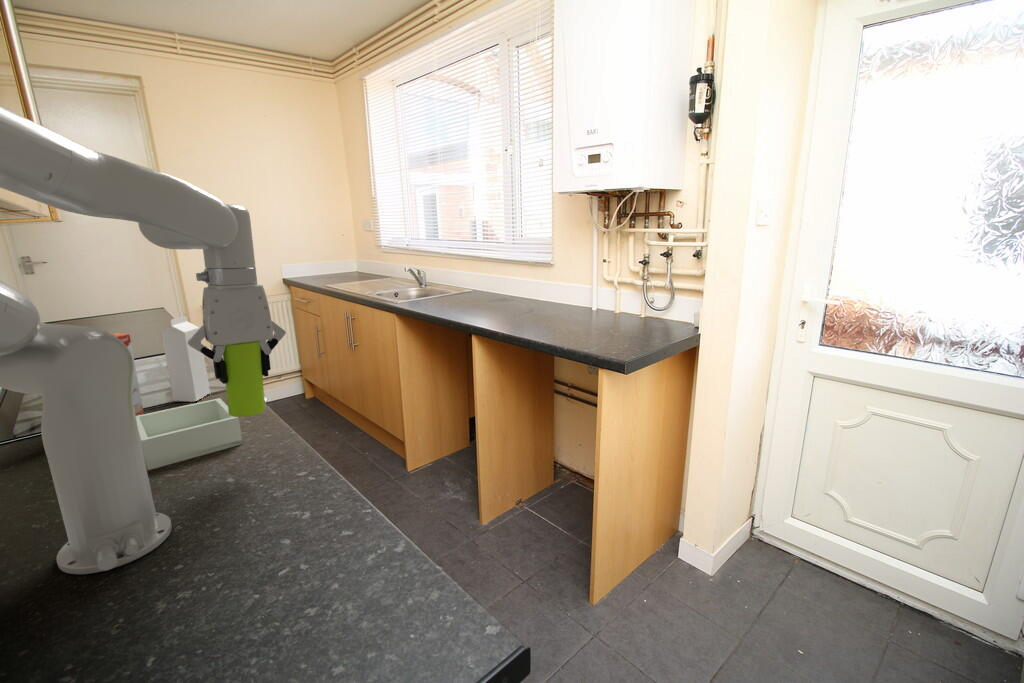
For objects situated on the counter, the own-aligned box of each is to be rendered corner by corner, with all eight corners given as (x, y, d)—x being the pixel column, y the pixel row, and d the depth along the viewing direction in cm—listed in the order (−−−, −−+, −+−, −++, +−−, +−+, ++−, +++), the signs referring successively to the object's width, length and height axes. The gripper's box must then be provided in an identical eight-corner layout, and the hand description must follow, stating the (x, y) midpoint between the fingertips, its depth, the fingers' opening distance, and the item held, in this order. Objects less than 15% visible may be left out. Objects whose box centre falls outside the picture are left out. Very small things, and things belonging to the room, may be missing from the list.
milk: (173, 403, 124) (157, 320, 118) (189, 395, 129) (174, 315, 124) (197, 403, 124) (181, 319, 118) (211, 395, 129) (197, 315, 124)
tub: (242, 444, 99) (238, 417, 98) (147, 470, 89) (141, 440, 87) (223, 422, 111) (219, 398, 109) (137, 443, 100) (132, 416, 99)
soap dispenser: (277, 408, 89) (269, 302, 85) (239, 419, 83) (229, 306, 79) (259, 402, 92) (250, 300, 88) (222, 412, 86) (211, 303, 82)
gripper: (176, 282, 74) (192, 393, 78) (291, 277, 85) (300, 373, 89) (168, 279, 79) (183, 383, 83) (277, 275, 91) (287, 366, 95)
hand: (244, 377), depth 86 cm, fingers closed on soap dispenser, 6 cm apart
